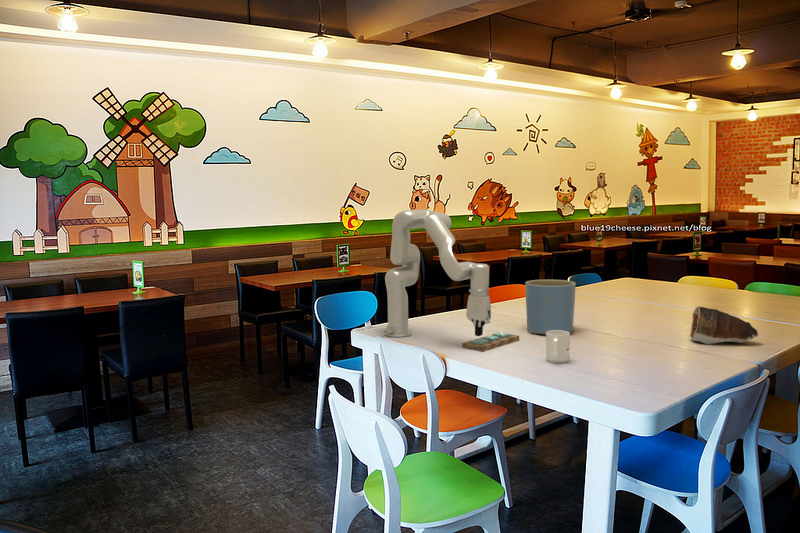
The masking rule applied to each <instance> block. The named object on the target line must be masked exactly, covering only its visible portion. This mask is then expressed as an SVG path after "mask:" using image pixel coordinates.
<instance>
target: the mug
mask: <svg viewBox="0 0 800 533" xmlns="http://www.w3.org/2000/svg"><path fill="white" fill-rule="evenodd" d="M570 337H571V332H567V331H563V330H550V331H547V332H546V334H545V358H546V360H547V361H548V362H549V363H554V364H564V363H567V362H568V361H570V357H571V356H570V353H571V352H570V351H571V350H570V348H571V347H570V346H571V345H570V344H571V338H570Z"/></svg>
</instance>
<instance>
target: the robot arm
mask: <svg viewBox="0 0 800 533" xmlns="http://www.w3.org/2000/svg"><path fill="white" fill-rule="evenodd" d="M391 225H392V229H391V230H392V232H391V233H392V234H391V235H392V236H391V245H390V255H389V258H390V261H391V263H392V264H393V265H395V266H400V267H394V268H391V269H389V270H388V271H387V272H386V273H385V276H384V281H385V282H384V283H385V287H386V294H387V325H386V328H381V329H380V332H381V333H380V334H384V335H385V336H387V337H390V338H406V337H409V336H411V335H412V333H413V332H412V331H411V330H409V298H408V297H409V296H408V293H407V290H406V287H410V286H412V285H413V286H414V285H415V284H416V283H417V281H418V279H419V274H420V264H421V263H420V262H421V253H420V249H419V247H418V246H417V245H416V244H413V243H411V232H410V229H425V231H426V232H427V234H428V235H429V237H430V239H431V240H432V241H433V243H434V245H435V246H436V248H437V250H438V258H439V261H440V264H441V267H442V268H443V270H444V271H445V273H446V275H447V276H448V277H449V278H450V279H451V280H453V281H454V282H460V281H464V280H466V281H467V280H470V288H469V289H468V292H469V293H470V294H469V295H468V298H467V304H466V313H465V314H466V318H467V320H468V321H470V322H471V323H473V324H472V325H473V327H474V336H475V337H480V336H481V337H482V336H483V331H484V330H483V329H484V326H485V325H488V324H490V323H491V319H492V306H491V305H492V304H491V298H490V296H489V286H490V267H489V265H488V264H487V263H476V262H474V261H473V262H471V261H461V262H459V261H458V260H457V258H456V257H455V255H454V253H453V245H454V244H455V243H456V238H455V236H454V235H453V233H452V232H451V231H450V230H451V227H452V219H451V217H450V216H449V215H448V214H447V213H444V212H439V211H434V210H429V209H407V210H401V211H399V212H398V213H396V214H395V215H394V217H393V219H392V224H391Z"/></svg>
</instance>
